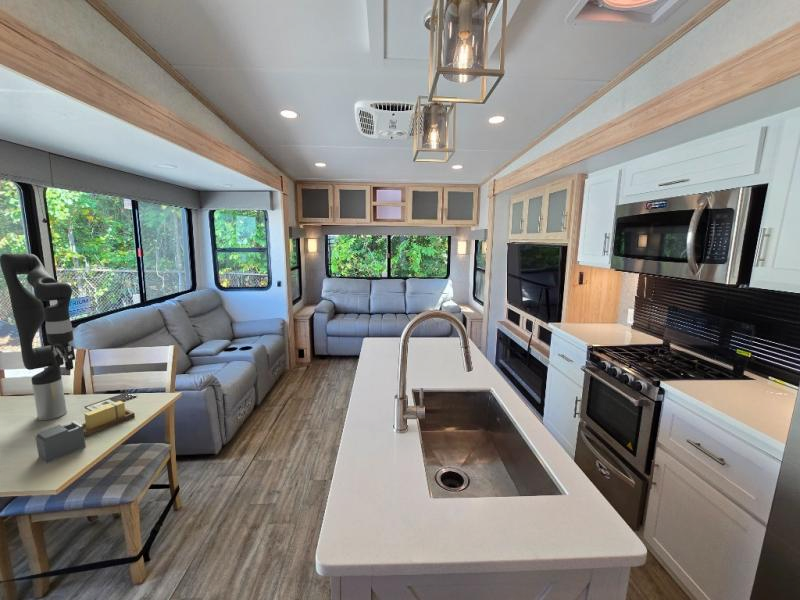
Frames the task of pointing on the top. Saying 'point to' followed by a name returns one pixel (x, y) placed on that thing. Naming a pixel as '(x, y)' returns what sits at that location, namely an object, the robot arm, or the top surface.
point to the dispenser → (60, 441)
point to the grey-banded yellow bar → (104, 414)
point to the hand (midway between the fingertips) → (64, 367)
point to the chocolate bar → (110, 401)
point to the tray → (108, 424)
